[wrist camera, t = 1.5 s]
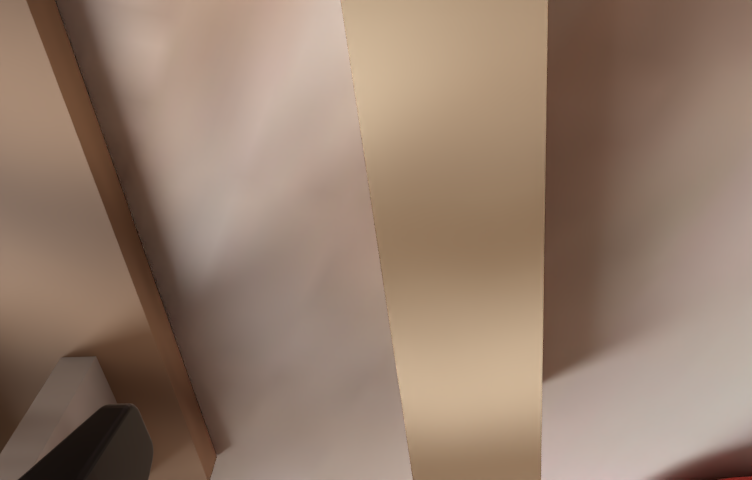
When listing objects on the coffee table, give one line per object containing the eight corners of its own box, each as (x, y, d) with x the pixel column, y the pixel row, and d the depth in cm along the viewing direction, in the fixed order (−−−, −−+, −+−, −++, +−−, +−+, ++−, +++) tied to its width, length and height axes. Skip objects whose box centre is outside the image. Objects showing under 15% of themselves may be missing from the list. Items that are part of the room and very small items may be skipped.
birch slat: (520, 385, 20) (540, 507, 16) (418, 390, 20) (417, 510, 17) (514, -311, 11) (553, -354, 8) (333, -281, 11) (294, -309, 8)
